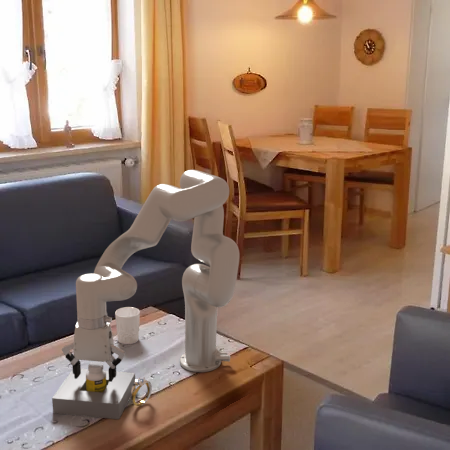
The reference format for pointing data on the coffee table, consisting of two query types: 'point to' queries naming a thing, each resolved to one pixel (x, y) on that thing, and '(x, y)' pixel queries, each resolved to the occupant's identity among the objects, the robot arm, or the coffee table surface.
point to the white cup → (127, 325)
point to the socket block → (94, 396)
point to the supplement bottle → (95, 377)
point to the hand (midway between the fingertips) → (94, 377)
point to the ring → (133, 393)
